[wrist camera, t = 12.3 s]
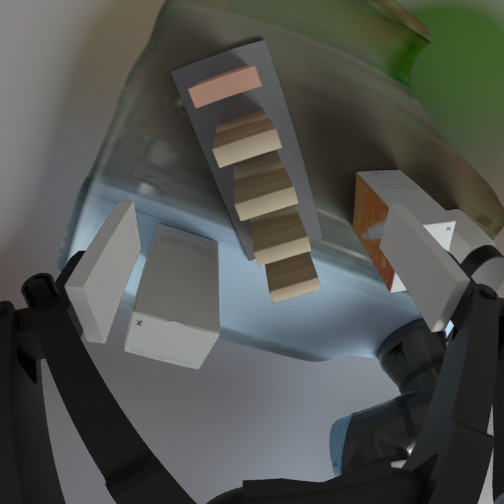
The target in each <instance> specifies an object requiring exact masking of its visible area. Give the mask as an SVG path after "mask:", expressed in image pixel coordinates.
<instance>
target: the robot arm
mask: <svg viewBox="0 0 504 504" xmlns="http://www.w3.org/2000/svg"><path fill="white" fill-rule="evenodd" d="M379 248H380V249H381V251H382V252H383V254H384V255H385V257H386V258H387V260H388V261H389V263H390V264H391V266H392V267H393V269H394V271H395V272H396V274H397V275H398V277H399V278H400V280H401V282H402V283H403V285H404V286H405V288H406V290H407V291H408V293H409V295H410V296H411V298H412V300H413V301H414V303H415V305H416V306H417V308H418V310H419V311H420V313H421V315H422V316H423V318H424V319H419V320H416V321H413V322H411V323H409V324H407V325H405V326H403V327H401V328H400V329H398V330H397V331H395V332H394V333H393V334H392V335H391V336H389V337H388V338H387V339H386V341H385V342H384V343H383V344H382V346H381V347H380V349H379V352H378V360H379V363H380V365H381V367H382V369H383V371H384V372H385V373H386V374H387V375H388V376H389V377H390V378H391V379H392V380H393V382H394V383H395V384H396V385H397V386H398V388H399V390H400V393H401V396H398V397H396V398H394V399H391V400H389V401H386V402H384V403H381V404H378V405H376V406H373V407H370V408H368V409H365V410H362V411H359V412H354V413H352V414H351V415H349V416H346V417H344V418H341V419H339V420H337V421H335V422H334V424H333V425H332V428H331V431H330V442H329V443H330V457H331V461H332V465H333V466H332V467H333V471H334V473H335V476H336V477H335V478H333V479H330V480H328V481H325V482H309V481H299V480H291V479H283V478H279V479H265V480H243V487H240V488H236V489H233V490H230V491H227V492H224V493H222V494H220V495H218V496H216V497H215V498H213V499H212V500H210V501H209V502H208V503H206V504H477V503H478V501H479V498H480V494H481V491H482V488H483V484H484V481H485V478H486V474H487V471H488V467H489V463H490V458H491V455H492V450H493V446H494V452H493V481H492V488H493V502H494V504H504V298H499V297H498V295H497V293H496V292H495V291H494V290H493V289H492V288H491V287H489V286H487V285H485V284H477V283H476V282H475V281H474V280H473V278H472V277H471V276H470V275H469V273H468V272H467V271H466V270H465V269H464V268H463V266H462V265H461V264H460V263H458V262H459V261H458V260H457V259H456V258H455V257H454V256H453V255H452V254H451V253H450V252H448V251H447V250H445V249H444V248H443V247H442V246H441V245H440V244H439V243H438V241H437V240H436V239H435V238H434V237H433V236H432V235H431V234H430V233H429V232H428V230H427V229H426V228H425V227H424V226H423V225H422V224H421V223H420V222H419V221H418V220H417V219H416V218H415V217H414V216H413V215H412V214H411V213H410V212H409V211H408V209H407V208H406V207H405V206H404V205H403V204H394V203H390V207H389V211H388V215H387V219H386V223H385V227H384V231H383V235H382V239H381V242H380V246H379ZM140 250H141V243H140V237H139V231H138V225H137V219H136V212H135V205H134V201H119V203H118V204H117V206H116V207H115V208H114V210H113V211H112V213H111V214H110V216H109V217H108V218H107V220H106V221H105V223H104V224H103V226H102V227H101V229H100V230H99V232H98V233H97V235H96V236H95V238H94V239H93V241H92V242H91V244H90V245H89V247H88V248H87V250H86V251H78V252H77V253H76V254H75V255H74V256H72V257H71V258H70V260H69V261H68V263H67V264H66V267H64V269H63V271H62V273H61V274H60V275H59V277H58V278H57V280H56V282H55V281H54V279H53V277H52V276H51V275H50V274H48V273H39V274H36V275H34V276H32V277H30V278H29V279H28V280H26V281H25V282H24V284H23V286H22V288H21V292H22V294H23V297H24V298H25V301H26V303H27V305H28V307H29V308H24V309H19V310H16V309H15V307H14V306H13V304H12V303H11V302H10V301H1V302H0V504H65V500H64V497H63V493H62V490H61V486H60V483H59V478H58V474H57V471H56V466H55V462H54V457H53V453H52V448H51V443H50V438H49V432H48V426H47V419H46V412H45V404H44V397H43V386H42V375H41V360H40V359H44V358H46V361H47V363H48V366H49V369H50V371H51V374H52V376H53V379H54V381H55V383H56V386H57V388H58V391H59V393H60V395H61V398H62V400H63V402H64V404H65V406H66V409H67V410H68V412H69V415H70V416H71V419H72V421H73V423H74V425H75V427H76V429H77V431H78V433H79V435H80V436H81V438H82V440H83V442H84V444H85V446H86V447H87V449H88V451H89V453H90V455H91V456H92V458H93V459H94V461H95V463H96V465H97V466H98V468H99V470H100V471H101V473H102V474H103V476H104V478H105V480H106V487H107V489H108V491H109V493H110V494H111V496H112V498H113V499H114V500H115V502H116V503H117V504H196V503H195V502H194V500H193V499H192V498H190V496H189V495H188V494H187V493H186V492H185V491H184V490H183V488H182V487H181V486H180V485H179V484H178V483H177V482H176V481H175V479H174V478H173V477H172V476H171V475H170V473H169V472H168V471H167V470H166V469H165V468H164V466H163V465H162V464H161V462H160V461H159V460H158V459H157V458H156V456H155V455H154V454H153V453H152V451H151V450H150V449H149V448H148V446H147V445H146V444H145V442H144V441H143V439H142V438H141V437H140V435H139V434H138V433H137V431H136V430H135V428H134V427H133V425H132V424H131V423H130V421H129V420H128V418H127V417H126V415H125V414H124V412H123V411H122V409H121V408H120V406H119V405H118V403H117V402H116V400H115V398H114V397H113V395H112V394H111V392H110V390H109V389H108V387H107V386H106V384H105V382H104V380H103V379H102V377H101V375H100V374H99V372H98V370H97V368H96V367H95V365H94V363H93V361H92V359H91V358H90V356H89V354H88V352H87V350H86V348H85V346H84V345H83V343H82V341H81V339H80V338H81V336H82V333H83V332H84V334H85V336H86V338H87V340H88V342H97V343H106V340H107V337H108V334H109V331H110V328H111V325H112V322H113V319H114V316H115V314H116V311H117V308H118V306H119V303H120V300H121V297H122V295H123V292H124V290H125V287H126V284H127V282H128V279H129V277H130V274H131V272H132V269H133V267H134V264H135V262H136V260H137V257H138V255H139V252H140ZM450 320H451V321H452V323H453V325H454V326H453V328H452V330H451V332H450V333H449V335H448V337H447V335H446V331H445V328H446V327H447V325H448V323H449V321H450ZM491 406H493V430H494V437H493V436H492V435H489V434H487V428H488V423H489V418H490V413H491ZM410 454H411V455H410ZM409 455H410V456H409Z"/></svg>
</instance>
